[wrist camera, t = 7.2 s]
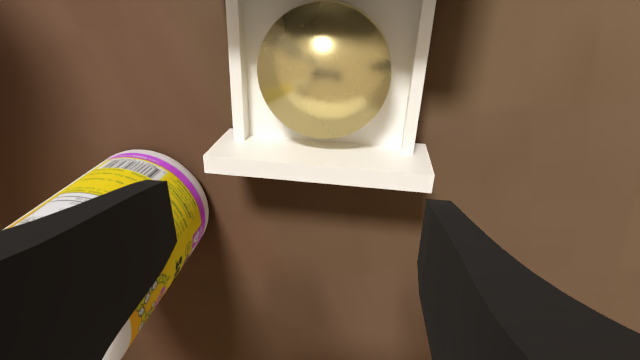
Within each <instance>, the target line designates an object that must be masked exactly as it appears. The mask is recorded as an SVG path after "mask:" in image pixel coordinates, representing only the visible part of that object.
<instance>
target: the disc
mask: <svg viewBox="0 0 640 360" xmlns="http://www.w3.org/2000/svg"><path fill="white" fill-rule="evenodd" d="M257 77H258V83H259V88H260V91H261V93H262V96H263V98H264V100H265V102H266V104H267V106H268V107H269V109H270V110H271V112H272V113H273V114H274V115H275V116H276V118H278V119H279V120H280V121H281V122H282V123H283V124H284V125H286V126H287V127H288V128H290V129H292V130H294V131H295V132H297V133H300V134H302V135H305V136H309V137H313V138H319V139H331V138H338V137H343V136H346V135H349V134H352V133H354V132H356V131H357V130H359V129H361V128H362V127H364V126H365V125H366V124H368V123H369V122H370V121H371V120H372V119H373V118H374V117H375V116H376V114H377V113H378V112H379V110H380V109H381V107H382V106H383V104H384V102H385V99H386V97H387V94H388V91H389V87H390V82H391V61H390V54H389V49H388V45H387V42H386V39H385V37H384V35H383V33H382V31H381V30H380V28H379V27H378V25H377V24H376V23H375V22H374V20H373V19H372V18H371V17H370V16H369V15H367V14H366V13H365V12H364V11H362V10H361V9H359V8H357V7H356V6H353V5H351V4H349V3H346V2H342V1H338V0H318V1H312V2H309V3H306V4H303V5H301V6H298V7H296V8H294V9H292V10H290V11H288V12H287V13H285V14H284V15H282V16H281V17H280V18H279V19H278V20H277V21H276V22H275V23H274V24H273V25H272V27H271V28H270V29H269V31H268V32H267V34H266V35H265V37H264V40H263V42H262V44H261V47H260V50H259V54H258V60H257Z"/></svg>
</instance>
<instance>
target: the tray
mask: <svg viewBox="0 0 640 360" xmlns="http://www.w3.org/2000/svg"><path fill="white" fill-rule="evenodd" d="M225 1H226V18H227V34H228V51H229V67H230V84H231V100H232V117H233V129H229V130H228V131H227V132H226V133H225V134H224V135H223V136H222V137H221V138H220V139H219V140H218V141H217V142H216V143H215V144H214V145H213V146H212V147H211V148H210V149H209V150H208V151H207V152H206V153H205V154H204V155H203V160H204V170H205V173H213V174H224V175H235V176H246V177H257V178H268V179H279V180H291V181H302V182H313V183H324V184H335V185H346V186H357V187H368V188H379V189H390V190H401V191H412V192H423V193H432V187H433V182H434V176H435V175H434V172H433V168H432V165H431V162H430V158H429V155H428V151H427V148H426V144H419V143H415V138H416V132H417V125H418V118H419V112H420V105H421V99H422V92H423V85H424V79H425V72H426V66H427V59H428V52H429V46H430V39H431V33H432V26H433V19H434V13H435V6H436V0H338V1H342V2H346V3H349V4H351V5H353V6H356V7H357V8H359V9H361V10H362V11H364V12H365V13H366V14H367V15H369V16H370V17H371V18H372V19H373V20H374V22H375V23H376V24H377V25H378V27H379V28H380V30H381V31H382V33H383V35H384V37H385V39H386V42H387V45H388V49H389V54H390V61H391V82H390V87H389V91H388V94H387V97H386V99H385V102H384V104H383V106H382V107H381V109H380V110H379V112H378V113H377V114H376V116H375V117H374V118H373V119H372V120H371V121H370V122H369V123H368V124H366V125H365V126H364V127H362V128H361V129H359V130H357V131H356V132H354V133H352V134H349V135H346V136H343V137H338V138H331V139H319V138H313V137H309V136H305V135H302V134H300V133H297V132H295V131H294V130H292V129H290V128H288V127H287V126H286V125H284V124H283V123H282V122H281V121H280V120H279V119H278V118H276V116H275V115H274V114H273V113H272V112H271V110H270V109H269V107H268V106H267V104H266V102H265V100H264V98H263V96H262V93H261V91H260V88H259V83H258V77H257V60H258V54H259V50H260V47H261V44H262V42H263V40H264V37H265V35H266V34H267V32H268V31H269V29H270V28H271V27H272V25H273V24H274V23H275V22H276V21H277V20H278V19H279V18H280V17H281V16H282V15H284V14H285V13H287V12H288V11H290V10H292V9H294V8H296V7H298V6H301V5H303V4H306V3H309V2H312V1H318V0H225Z"/></svg>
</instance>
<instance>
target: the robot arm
mask: <svg viewBox="0 0 640 360" xmlns="http://www.w3.org/2000/svg"><path fill="white" fill-rule="evenodd" d="M176 243H177V235H176V230H175V224H174V218H173V212H172V206H171V201H170V195H169V189H168V183H167V181H160V180H143V181H139V182H136V183H132V184H129V185H127V186H124V187H121V188H118V189H116V190H113V191H110V192H108V193H105V194H103V195H100V196H98V197H95V198H92V199H90V200H87V201H85V202H82V203H80V204H77V205H75V206H72V207H69V208H66V209H63V210H61V211H58V212H55V213H52V214H50V215H47V216H44V217H41V218H39V219H36V220H33V221H30V222H27V223H24V224H21V225H17V226H14V227H11V228H8V229H4V230H1V231H0V360H102V359H103V357H104V355H105V353H106V352H107V350H108V348H109V347H110V345H111V344H112V342H113V341H114V339H115V338H116V336H117V335H118V333H119V332H120V330H121V329H122V328H123V326H124V325H125V323H126V322H127V321H128V319H129V318H130V316H131V315H132V314H133V312H134V311H135V309H136V308H137V307H138V305H139V304H140V302H141V301H142V300H143V298H144V297H145V295H146V294H147V293H148V291H149V290H150V288H151V287H152V285H153V284H154V283H155V281H156V280H157V278H158V277H159V275H160V274H161V272H162V271H163V269H164V267H165V266H166V264H167V262H168V260H169V258H170V256H171V254H172V252H173V250H174V248H175V246H176ZM417 265H418V282H419V295H420V300H421V305H422V310H423V316H424V321H425V326H426V331H427V336H428V341H429V345H430V350H431V355H432V360H640V334H639V333H637V332H635V331H633V330H631V329H629V328H627V327H625V326H623V325H621V324H619V323H617V322H615V321H613V320H611V319H609V318H607V317H605V316H604V315H602V314H600V313H598V312H596V311H595V310H593V309H591V308H589V307H588V306H586V305H584V304H582V303H580V302H579V301H577V300H575V299H573V298H572V297H570V296H569V295H567V294H565V293H564V292H562V291H560V290H559V289H557V288H556V287H554V286H553V285H551V284H550V283H548V282H547V281H545V280H544V279H542V278H541V277H539V276H538V275H536V274H535V273H533V272H532V271H531V270H529V269H528V268H526V267H525V266H524V265H522V264H521V263H520V262H519V261H517V260H516V259H515V258H514V257H512V256H511V255H510V254H508V253H507V252H506V251H505V250H503V249H502V248H501V247H500V246H499V245H498V244H496V243H495V242H494V241H493V240H492V239H491V238H490V237H488V236H487V235H486V234H485V233H484V232H483V231H482V230H481V229H480V228H479V227H478V226H476V225H475V224H474V223H473V222H472V221H471V220H470V219H469V218H468V217H467V216H466V215H465V214H464V213H463V212H462V211H461V210H460V209H459V208H458V207H457V206H456V205H455V204H453V203H452V202H451V201H445V200H431V199H426V206H425V213H424V220H423V227H422V233H421V240H420V247H419V254H418V261H417Z"/></svg>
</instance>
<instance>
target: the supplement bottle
mask: <svg viewBox="0 0 640 360" xmlns="http://www.w3.org/2000/svg"><path fill="white" fill-rule="evenodd" d="M143 180H160V181H167V183H168V189H169V195H170V201H171V206H172V212H173V218H174V224H175V230H176V235H177V243H176V246H175V248H174V250H173V252H172V254H171V256H170V258H169V260H168V262H167V264H166V266H165V267H164V269H163V271H162V272H161V274H160V275H159V277H158V278H157V280H156V281H155V283H154V284H153V285H152V287H151V288H150V290H149V291H148V293H147V294H146V295H145V297H144V298H143V300H142V301H141V302H140V304H139V305H138V307H137V308H136V309H135V311H134V312H133V314H132V315H131V316H130V318H129V319H128V321H127V322H126V323H125V325H124V326H123V328H122V329H121V330H120V332H119V333H118V335H117V336H116V338H115V339H114V341H113V342H112V344H111V345H110V347H109V348H108V350H107V352H106V353H105V355H104V357H103V359H102V360H121V358H122V357H123V355H124V354H125V353H126V351H127V350H128V348H129V347H130V345H131V344H132V342H133V340H134V339H135V337H136V336H137V334H138V333H139V331H140V330H141V328H142V327H143V325H144V324H145V322H146V321H147V319H148V318H149V316H150V315H151V313H152V312H153V310H154V309H155V307H156V306H157V304H158V303H159V301H160V300H161V298H162V297H163V295H164V294H165V292H166V291H167V289H168V287H169V286H170V285H171V283H172V281H173V280H174V279H175V277H176V276H177V274H178V273H179V271H180V270H181V269H182V267H183V265H184V264H185V262H186V261H187V259H188V258H189V256H190V255H191V253H192V252H193V250H194V249H195V247H196V246H197V244H198V242H199V241H200V239H201V237H202V236H203V234H204V232H205V230H206V227H207V223H208V216H209V209H208V203H207V199H206V196H205V193H204V191H203V189H202V187H201V185H200V183H199V182H198V180H197V179H196V178H195V177H194V176H193V175H192V174H191V173H190V172H189V171H188V170H187V169H186V168H185V167H184V166H183V165H181V164H180V163H179V162H177V161H176V160H174V159H172V158H170V157H168V156H166V155H164V154H161V153H158V152H154V151H149V150H128V151H124V152H120V153H118V154H115V155H113V156H111V157H110V158H108V159H106V160H105V161H103V162H102V163H100V164H99V165H97V166H96V167H94V168H93V169H91V170H90V171H88V172H87V173H85V174H84V175H82V176H81V177H79V178H78V179H77V180H75V181H74V182H72V183H71V184H69V185H68V186H66V187H65V188H63V189H62V190H60V191H59V192H58V193H56V194H55V195H53V196H52V197H50V198H49V199H47V200H46V201H44V202H43V203H41V204H40V205H38V206H37V207H35V208H34V209H33V210H31V211H30V212H28V213H27V214H25V215H24V216H22V217H21V218H19V219H18V220H16V221H15V222H13V223H12V224H10V225H9V226H7V227H6V228H4V229H8V228H11V227H14V226H17V225H21V224H24V223H27V222H30V221H33V220H36V219H39V218H41V217H44V216H47V215H50V214H52V213H55V212H58V211H61V210H63V209H66V208H69V207H72V206H75V205H77V204H80V203H82V202H85V201H87V200H90V199H92V198H95V197H98V196H100V195H103V194H105V193H108V192H110V191H113V190H116V189H118V188H121V187H124V186H127V185H129V184H132V183H136V182H139V181H143ZM4 229H3V230H4Z"/></svg>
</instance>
